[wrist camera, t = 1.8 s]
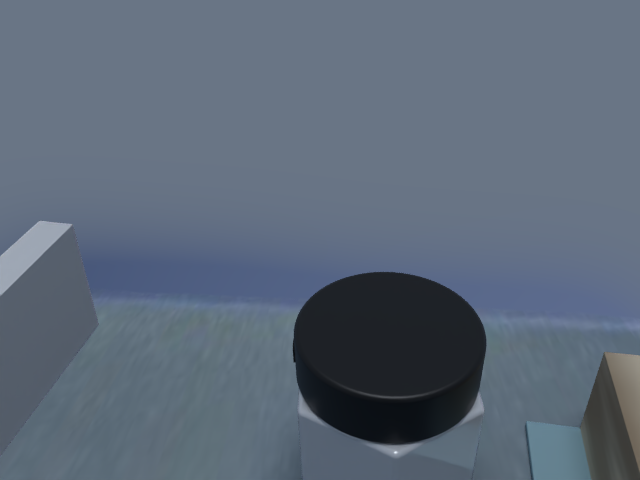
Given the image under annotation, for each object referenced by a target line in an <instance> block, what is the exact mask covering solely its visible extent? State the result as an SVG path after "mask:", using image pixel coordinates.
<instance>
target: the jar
mask: <svg viewBox="0 0 640 480" xmlns="http://www.w3.org/2000/svg"><path fill="white" fill-rule="evenodd" d="M485 352H486V335H485V330H484V327H483V324H482V322H481V320H480V318H479V317H478V315H477V313H476V312H475V311H474V309H473V308H472V307H471V306H470V305H469V304H468V303H467V302H466V301H465V300H464V299H463V298H462V297H461V296H459V295H458V294H457V293H455V292H454V291H452V290H450V289H449V288H447V287H445V286H443V285H441V284H439V283H437V282H434V281H431V280H429V279H426V278H422V277H419V276H415V275H410V274H404V273H395V272H373V273H364V274H358V275H354V276H350V277H346V278H343V279H340V280H338V281H335V282H333V283H331V284H329V285H327V286H325V287H324V288H323V289H321V290H319V291H318V292H317V293H315V294H314V295H313V296H312V297H311V298H310V299H309V300H308V301H307V302H306V303H305V305H304V306H303V307H302V309H301V311H300V312H299V314H298V317H297V319H296V323H295V328H294V340H293V356H294V362H296V376H297V383H298V386H299V392H298V426H299V441H300V456H301V471H302V480H472V476H473V471H474V466H475V460H476V455H477V449H478V444H479V438H480V433H481V428H482V422H483V417H484V411H485V410H484V406H483V402H482V398H481V395H480V391H479V387H480V381H481V376H482V370H483V364H484V358H485Z"/></svg>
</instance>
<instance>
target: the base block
mask: <svg viewBox="0 0 640 480" xmlns="http://www.w3.org/2000/svg"><path fill="white" fill-rule="evenodd" d="M580 429H581V434H582V439H583V443H584V448H585V453H586V457H587V462H588V466H589V471H590V476H591V480H640V356H639V355H629V354H619V353H609V352H604V355H603V358H602V361H601V364H600V367H599V370H598V373H597V376H596V380H595V383H594V386H593V389H592V392H591V395H590V398H589V401H588V405H587V408H586V411H585V414H584V417H583V420H582V423H581V427H580Z"/></svg>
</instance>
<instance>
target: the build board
mask: <svg viewBox="0 0 640 480" xmlns="http://www.w3.org/2000/svg"><path fill="white" fill-rule="evenodd" d="M525 427H526V435H527V443H528V451H529V459H530V467H531V476H532V480H591V476H590V471H589V466H588V462H587V457H586V453H585V448H584V443H583V439H582V434H581V429H580V428H579V427H570V426H562V425H554V424H546V423H537V422H529V421H526V425H525Z"/></svg>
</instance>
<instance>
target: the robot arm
mask: <svg viewBox="0 0 640 480" xmlns="http://www.w3.org/2000/svg"><path fill="white" fill-rule="evenodd" d="M98 325H99V323H98V319H97V316H96V312H95V308H94V304H93V300H92V296H91V293H90V289H89V285H88V281H87V277H86V274H85V270H84V266H83V262H82V258H81V254H80V250H79V247H78V243H77V239H76V235H75V231H74V227H73V225H72V224H64V223H55V222H45V221H39V222H38V223H37V224H35V225H34V226H33V227H32V228H31V229H30V230H29V231H28V232H27V233H25V235H23V236H22V237H21V238H20V239H19V240H18V241H17V242H16V243H15V244H13V245H12V246H11V247H10V248H9V249H8V250H7V251H6V252H4V253H3V254H2V255H1V256H0V456H1V455H2V453H3V452H4V451H5V449H6V448H7V447H8V445H9V444H10V443H11V441H12V440H13V439H14V437H15V436H16V435H17V433H18V432H19V431H20V429H21V428H22V427H23V425H24V424H25V423H26V421H27V420H28V419H29V417H30V416H31V415H32V413H33V412H34V411H35V409H36V408H37V407H38V405H39V404H40V403H41V401H42V400H43V399H44V397H45V396H46V395H47V393H48V392H49V391H50V389H51V388H52V387H53V385H54V384H55V383H56V381H57V380H58V379H59V377H60V376H61V374H62V373H63V372H64V370H65V369H66V368H67V366H68V365H69V364H70V362H71V361H72V360H73V358H74V357H75V356H76V354H77V353H78V352H79V350H80V349H81V348H82V346H83V345H84V344H85V342H86V341H87V340H88V338H89V337H90V336H91V334H92V333H93V332H94V330H95V329H96V328H97V326H98Z"/></svg>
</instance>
